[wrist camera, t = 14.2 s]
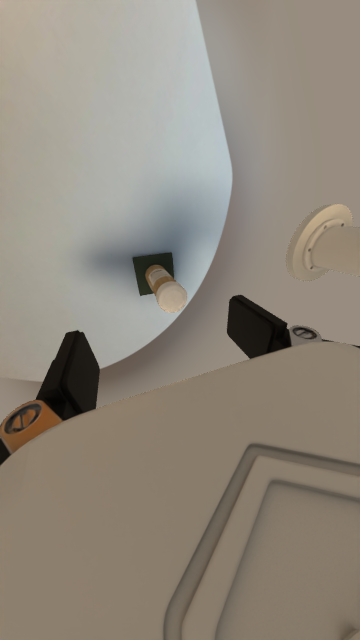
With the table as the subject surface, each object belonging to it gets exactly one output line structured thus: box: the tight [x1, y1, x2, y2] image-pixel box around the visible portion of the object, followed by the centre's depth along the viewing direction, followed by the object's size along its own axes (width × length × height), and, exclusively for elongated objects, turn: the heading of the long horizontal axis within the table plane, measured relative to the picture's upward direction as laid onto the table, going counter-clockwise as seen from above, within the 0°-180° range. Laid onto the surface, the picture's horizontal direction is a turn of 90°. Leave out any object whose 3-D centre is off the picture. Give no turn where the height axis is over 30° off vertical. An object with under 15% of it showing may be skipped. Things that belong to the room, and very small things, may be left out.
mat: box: [133, 253, 174, 296], centre depth 37 cm, size 8×8×1 cm
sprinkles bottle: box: [145, 265, 187, 313], centre depth 31 cm, size 5×5×13 cm
